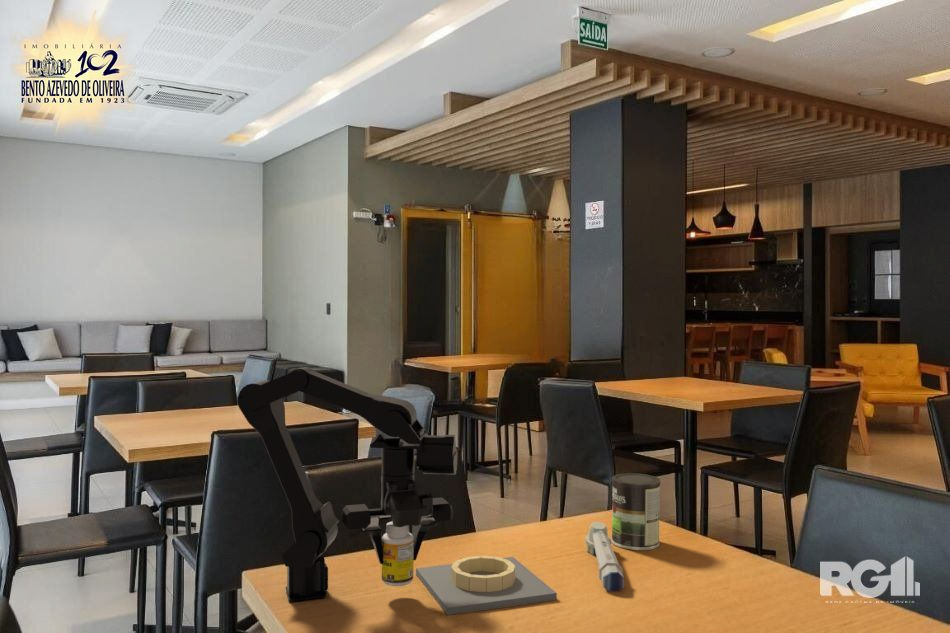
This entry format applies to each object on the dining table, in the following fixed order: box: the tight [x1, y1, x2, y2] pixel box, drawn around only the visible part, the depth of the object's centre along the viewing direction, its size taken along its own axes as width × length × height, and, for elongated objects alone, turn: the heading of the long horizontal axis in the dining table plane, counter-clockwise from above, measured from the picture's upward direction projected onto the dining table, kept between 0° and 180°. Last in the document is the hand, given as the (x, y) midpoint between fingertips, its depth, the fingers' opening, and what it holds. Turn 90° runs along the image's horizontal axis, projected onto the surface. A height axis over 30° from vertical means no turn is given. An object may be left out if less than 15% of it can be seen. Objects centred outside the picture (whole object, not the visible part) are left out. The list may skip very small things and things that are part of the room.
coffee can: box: [611, 472, 662, 552], centre depth 163 cm, size 10×10×14 cm
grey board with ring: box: [415, 555, 558, 616], centre depth 138 cm, size 20×20×4 cm
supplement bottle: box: [381, 520, 414, 587], centre depth 132 cm, size 6×6×10 cm
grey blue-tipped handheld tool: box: [584, 521, 625, 592], centre depth 148 cm, size 5×7×25 cm
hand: (397, 561), depth 132 cm, fingers closed on supplement bottle, 6 cm apart
